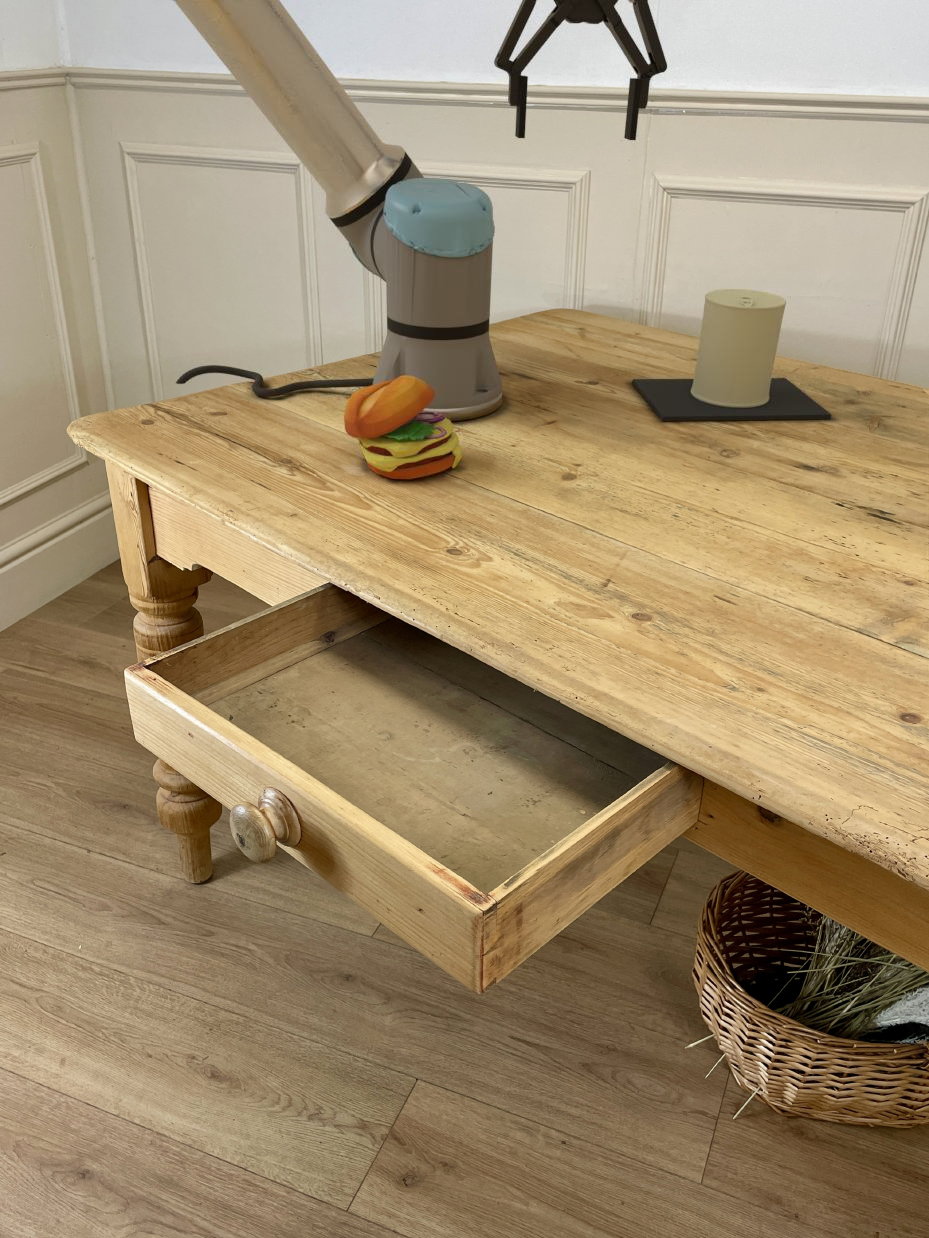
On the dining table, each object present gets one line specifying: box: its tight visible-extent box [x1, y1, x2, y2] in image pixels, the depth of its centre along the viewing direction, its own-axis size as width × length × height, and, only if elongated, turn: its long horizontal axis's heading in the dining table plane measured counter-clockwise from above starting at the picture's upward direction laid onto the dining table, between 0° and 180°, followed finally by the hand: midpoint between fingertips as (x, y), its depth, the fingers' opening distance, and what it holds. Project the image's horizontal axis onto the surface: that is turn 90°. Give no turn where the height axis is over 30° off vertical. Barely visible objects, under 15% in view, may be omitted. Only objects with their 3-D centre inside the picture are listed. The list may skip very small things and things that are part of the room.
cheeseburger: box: [343, 375, 463, 480], centre depth 98 cm, size 10×11×10 cm
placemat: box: [631, 377, 832, 422], centre depth 120 cm, size 20×14×1 cm
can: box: [691, 288, 787, 408], centre depth 116 cm, size 9×9×12 cm
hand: (575, 138), depth 121 cm, fingers open, 13 cm apart
